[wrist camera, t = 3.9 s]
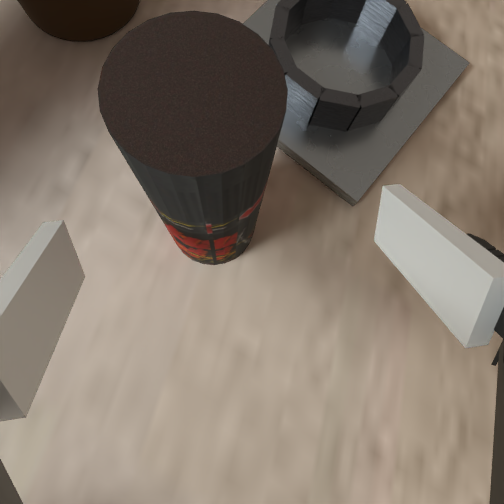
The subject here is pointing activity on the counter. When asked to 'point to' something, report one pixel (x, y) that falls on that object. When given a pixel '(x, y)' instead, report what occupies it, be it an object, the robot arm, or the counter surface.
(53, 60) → the counter surface
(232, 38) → the deodorant
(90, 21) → the olive oil
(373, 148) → the duct flange
